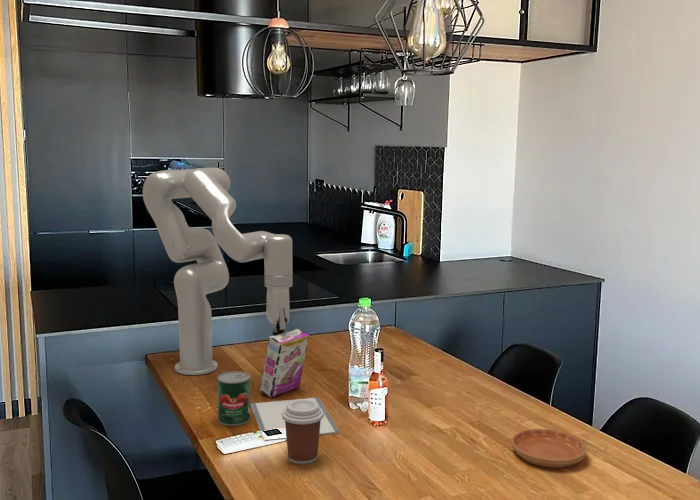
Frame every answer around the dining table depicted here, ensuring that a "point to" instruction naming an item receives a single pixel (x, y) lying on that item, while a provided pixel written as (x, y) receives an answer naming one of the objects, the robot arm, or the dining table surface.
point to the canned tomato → (234, 398)
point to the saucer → (548, 448)
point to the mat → (271, 418)
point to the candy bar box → (284, 362)
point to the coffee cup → (302, 430)
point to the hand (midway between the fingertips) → (279, 345)
